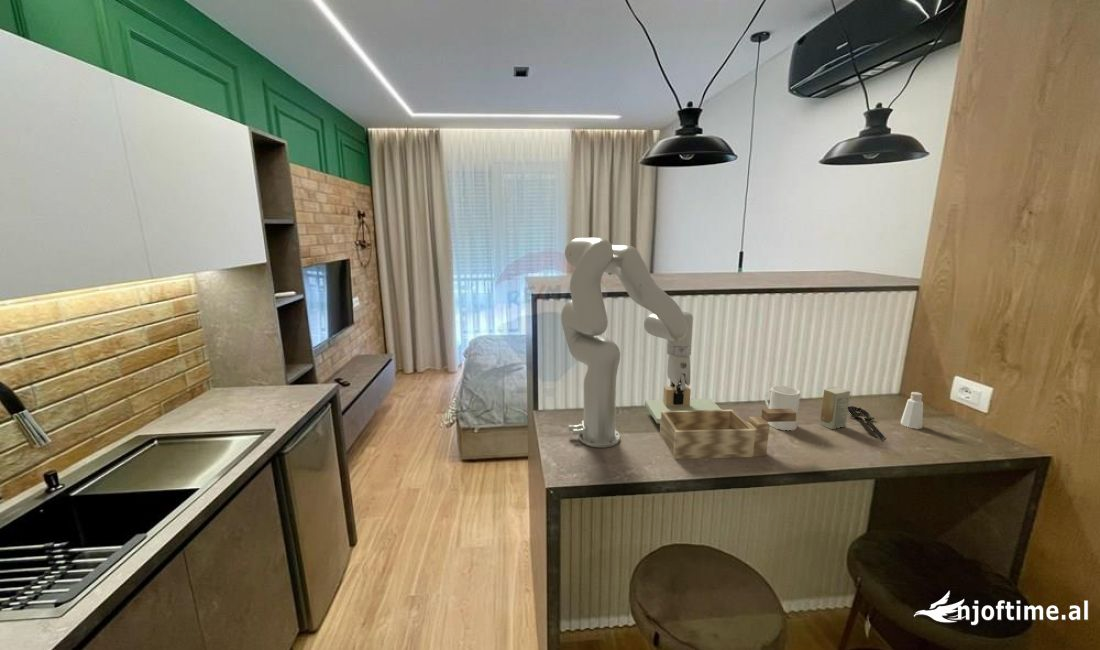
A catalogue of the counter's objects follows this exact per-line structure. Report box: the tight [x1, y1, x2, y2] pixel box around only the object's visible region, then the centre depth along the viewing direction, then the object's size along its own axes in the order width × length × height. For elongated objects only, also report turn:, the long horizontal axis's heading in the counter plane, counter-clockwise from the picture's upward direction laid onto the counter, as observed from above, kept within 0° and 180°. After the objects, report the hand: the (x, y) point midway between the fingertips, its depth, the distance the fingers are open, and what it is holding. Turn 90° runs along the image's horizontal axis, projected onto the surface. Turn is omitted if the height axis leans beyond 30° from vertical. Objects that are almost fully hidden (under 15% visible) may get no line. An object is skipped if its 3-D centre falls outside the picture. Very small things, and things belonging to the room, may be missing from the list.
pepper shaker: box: [900, 391, 924, 430], centre depth 133 cm, size 5×5×11 cm
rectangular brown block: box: [761, 408, 797, 422], centre depth 117 cm, size 8×3×2 cm, turn 92°
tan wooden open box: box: [659, 409, 770, 460], centre depth 121 cm, size 26×14×10 cm, turn 92°
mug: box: [764, 385, 801, 432], centre depth 136 cm, size 12×8×12 cm
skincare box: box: [819, 386, 851, 430], centre depth 133 cm, size 6×4×12 cm
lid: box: [644, 385, 723, 424], centre depth 138 cm, size 23×15×8 cm, turn 92°
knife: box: [848, 405, 886, 441], centre depth 136 cm, size 25×6×1 cm, turn 155°
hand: (676, 401), depth 141 cm, fingers closed on lid, 3 cm apart
